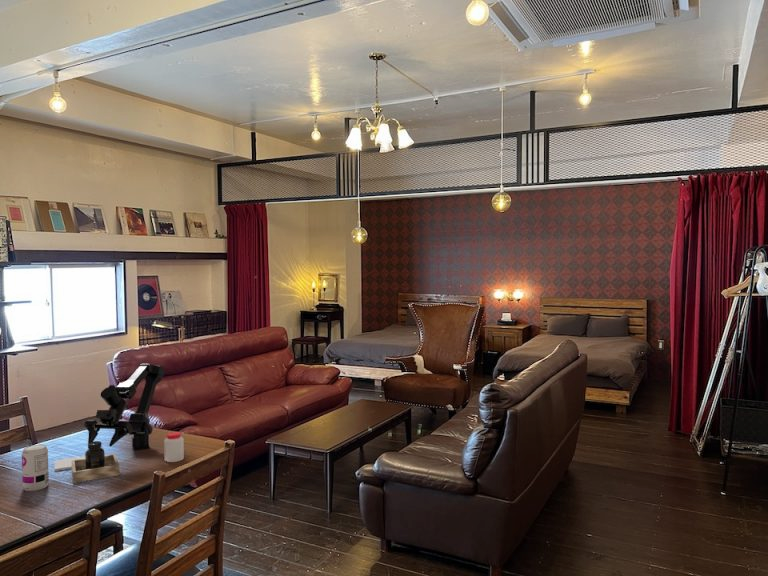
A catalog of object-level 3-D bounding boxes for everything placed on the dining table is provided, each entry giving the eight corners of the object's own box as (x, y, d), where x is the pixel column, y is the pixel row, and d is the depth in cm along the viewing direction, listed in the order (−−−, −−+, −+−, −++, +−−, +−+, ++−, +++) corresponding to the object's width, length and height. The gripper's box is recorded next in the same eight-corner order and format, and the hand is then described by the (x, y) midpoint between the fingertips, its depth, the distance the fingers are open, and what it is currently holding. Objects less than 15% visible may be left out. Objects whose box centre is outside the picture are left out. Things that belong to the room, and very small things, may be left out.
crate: (115, 463, 236) (115, 453, 236) (119, 475, 222) (119, 465, 222) (71, 470, 228) (71, 460, 228) (73, 483, 214) (72, 472, 214)
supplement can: (21, 493, 205) (20, 452, 204) (24, 485, 212) (23, 446, 211) (47, 489, 208) (46, 448, 208) (49, 482, 216) (48, 442, 215)
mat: (86, 458, 243) (86, 455, 243) (88, 466, 233) (88, 463, 233) (54, 462, 237) (54, 460, 237) (54, 471, 227) (54, 469, 227)
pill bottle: (187, 457, 244) (187, 431, 243) (175, 463, 236) (175, 436, 236) (172, 455, 246) (172, 430, 246) (160, 461, 239) (160, 435, 239)
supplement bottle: (108, 470, 228) (108, 440, 228) (98, 476, 222) (97, 445, 221) (92, 469, 229) (91, 440, 229) (81, 475, 222) (81, 445, 222)
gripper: (85, 400, 234) (68, 434, 223) (128, 401, 232) (112, 436, 221) (98, 415, 242) (81, 448, 231) (139, 416, 240) (124, 450, 229)
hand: (99, 445), depth 228 cm, fingers open, 9 cm apart
